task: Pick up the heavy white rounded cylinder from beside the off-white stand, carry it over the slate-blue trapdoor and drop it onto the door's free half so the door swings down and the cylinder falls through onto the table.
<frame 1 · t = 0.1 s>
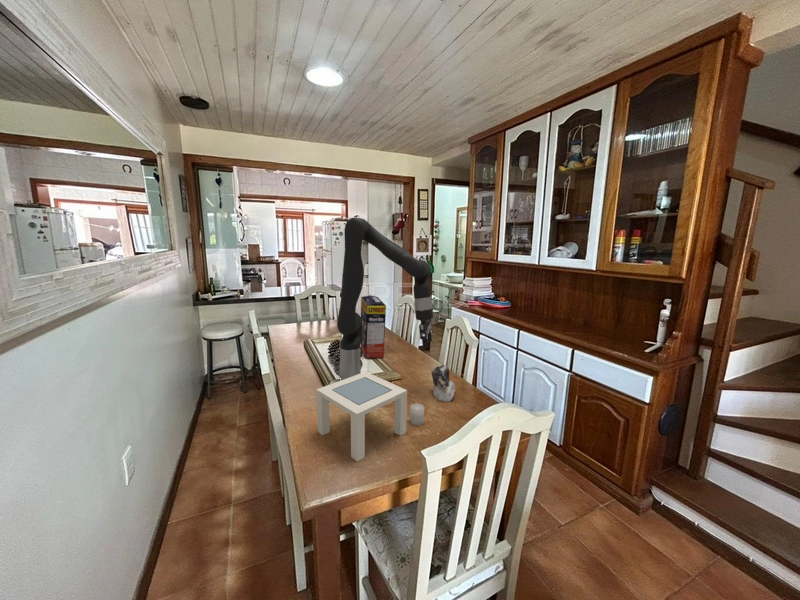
hand: (427, 344, 143), 22 cm above the table, tool pointing down, fingers open, 8 cm apart
trapdoor: (361, 391, 114), point 15 cm above the table, hinge at 0.0°
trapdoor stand: (362, 432, 117), on the table
stone: (442, 395, 145), on the table
cereal box: (371, 351, 198), on the table
white rounded cylinder: (416, 421, 124), on the table
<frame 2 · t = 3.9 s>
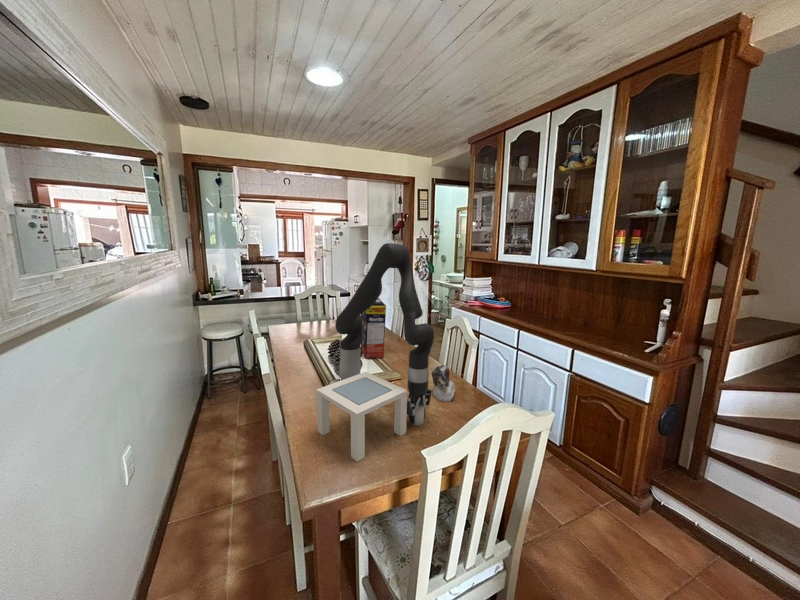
hand: (416, 419, 124), 1 cm above the table, tool pointing down, fingers closed on white rounded cylinder, 5 cm apart
white rounded cylinder: (416, 421, 124), on the table, touching gripper
everything else where it was.
when the fingers open (19 cm above the table, at t = 9.4 s): white rounded cylinder drops 5 cm, resting on trapdoor.
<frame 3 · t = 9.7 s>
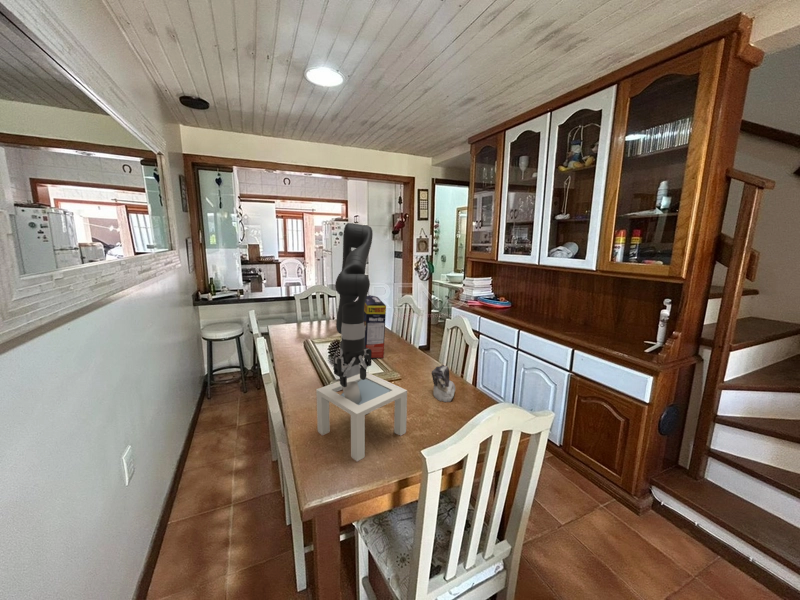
hand: (353, 382, 111), 20 cm above the table, tool pointing down, fingers open, 7 cm apart
trapdoor: (362, 396, 114), point 14 cm above the table, hinge at -15.7°, touching white rounded cylinder
white rounded cylinder: (354, 400, 112), point 13 cm above the table, tilted 15°, touching trapdoor
everything else where it was.
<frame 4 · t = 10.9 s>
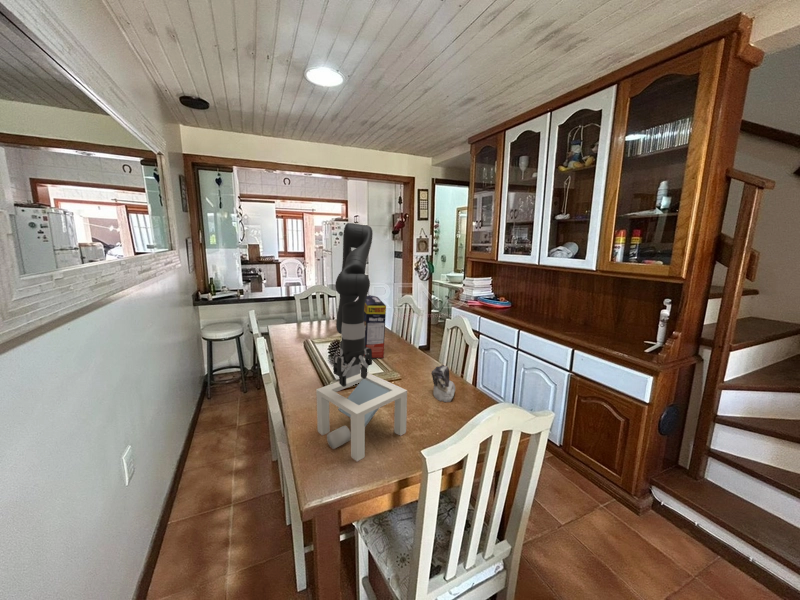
hand: (353, 381, 111), 20 cm above the table, tool pointing down, fingers open, 8 cm apart
trapdoor: (364, 401, 116), point 11 cm above the table, hinge at -34.6°
white rounded cylinder: (346, 433, 112), point 3 cm above the table, tilted 90°
everything else where it was.
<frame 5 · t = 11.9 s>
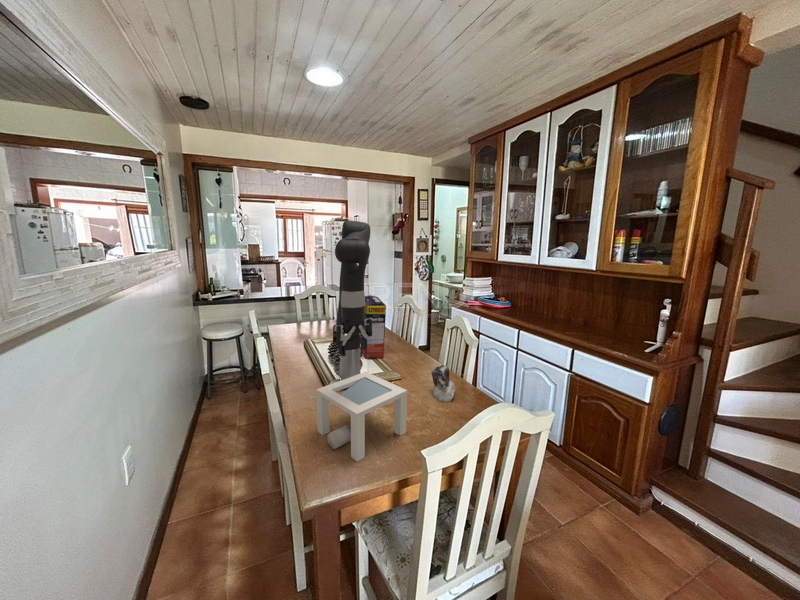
hand: (353, 352, 109), 30 cm above the table, tool pointing down, fingers open, 8 cm apart
trapdoor: (362, 395, 114), point 14 cm above the table, hinge at -14.2°
everything else where it was.
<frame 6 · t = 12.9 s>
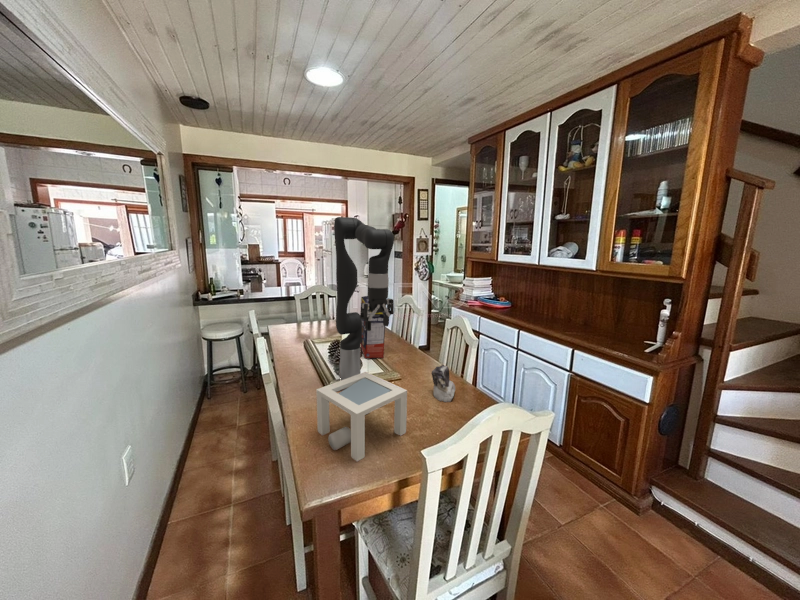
hand: (377, 328, 124), 34 cm above the table, tool pointing down, fingers open, 8 cm apart
trapdoor: (361, 394, 114), point 14 cm above the table, hinge at -10.5°
everything else where it was.
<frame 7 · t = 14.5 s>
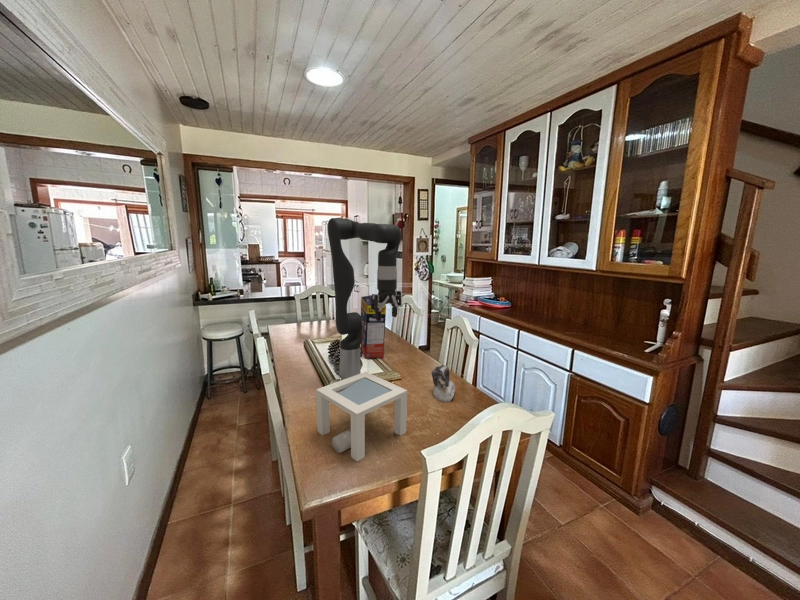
hand: (386, 318, 130), 36 cm above the table, tool pointing down, fingers open, 8 cm apart
trapdoor: (361, 394, 114), point 14 cm above the table, hinge at -9.7°
white rounded cylinder: (352, 437, 110), point 3 cm above the table, tilted 90°
everything else where it was.
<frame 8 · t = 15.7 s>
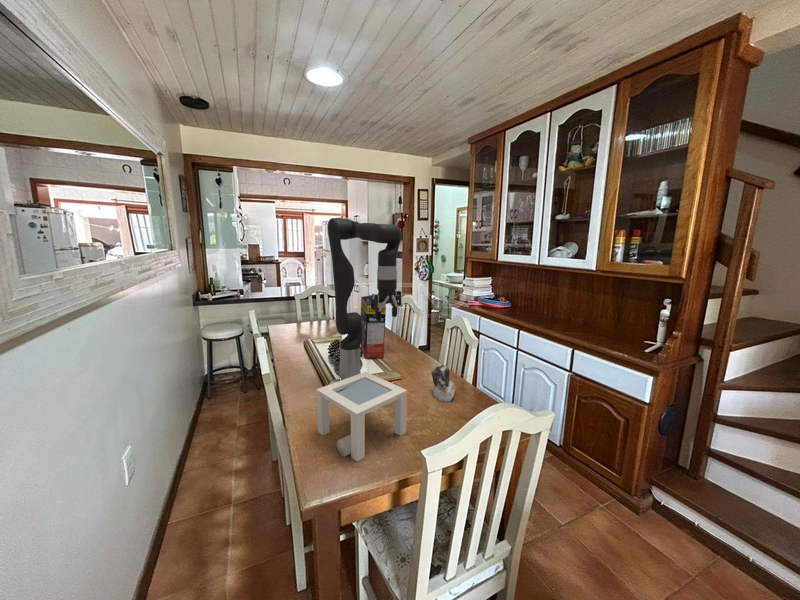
hand: (386, 318, 130), 36 cm above the table, tool pointing down, fingers open, 8 cm apart
white rounded cylinder: (356, 440, 108), point 3 cm above the table, tilted 90°
everything else where it was.
at the end: white rounded cylinder point 2.5 cm above the table; the gripper is holding nothing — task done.
